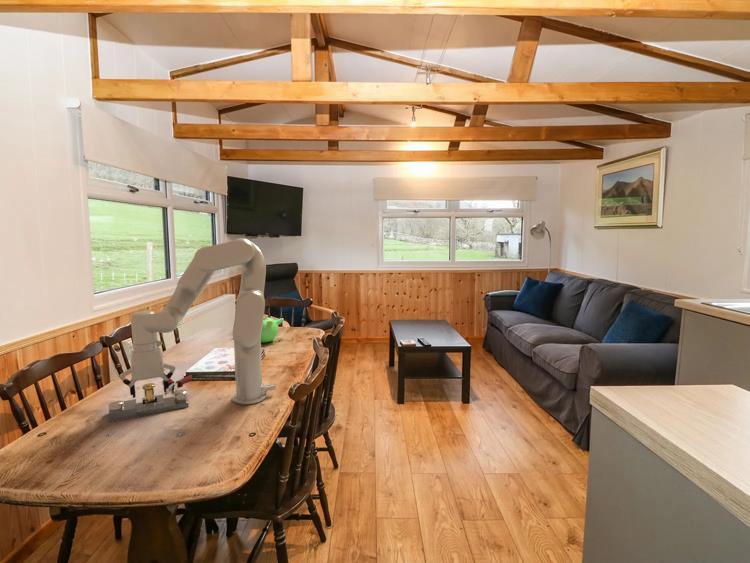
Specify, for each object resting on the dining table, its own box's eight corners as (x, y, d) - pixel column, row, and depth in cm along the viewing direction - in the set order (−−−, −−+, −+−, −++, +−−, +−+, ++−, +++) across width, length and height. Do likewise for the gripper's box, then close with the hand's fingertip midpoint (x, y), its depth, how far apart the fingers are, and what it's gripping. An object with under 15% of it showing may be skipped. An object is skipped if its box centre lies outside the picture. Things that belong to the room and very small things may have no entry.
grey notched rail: (186, 398, 157) (186, 386, 156) (189, 406, 150) (188, 394, 149) (110, 412, 145) (109, 400, 145) (108, 422, 138) (107, 409, 137)
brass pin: (156, 406, 150) (155, 382, 149) (157, 410, 147) (155, 386, 145) (144, 408, 148) (142, 384, 147) (144, 413, 145) (142, 388, 144)
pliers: (154, 396, 160) (153, 390, 159) (167, 378, 179) (167, 372, 179) (186, 394, 162) (185, 387, 162) (196, 376, 182) (195, 370, 181)
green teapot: (257, 337, 244) (256, 312, 242) (285, 338, 242) (284, 313, 240) (243, 345, 227) (242, 319, 225) (273, 346, 224) (272, 320, 222)
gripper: (172, 340, 152) (176, 385, 154) (117, 347, 144) (121, 395, 146) (174, 345, 145) (177, 392, 148) (116, 353, 137) (120, 402, 139)
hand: (150, 393), depth 147 cm, fingers open, 9 cm apart
